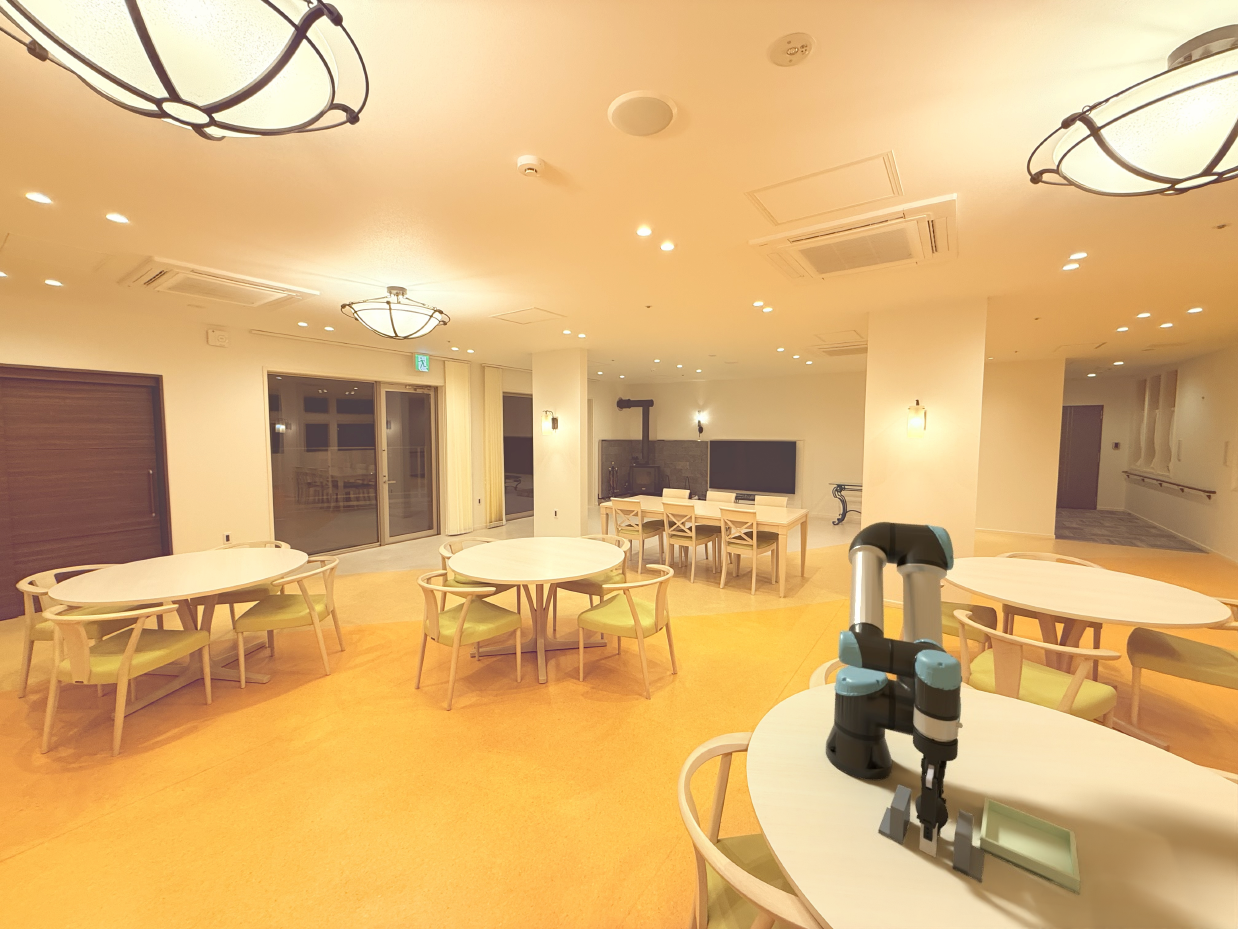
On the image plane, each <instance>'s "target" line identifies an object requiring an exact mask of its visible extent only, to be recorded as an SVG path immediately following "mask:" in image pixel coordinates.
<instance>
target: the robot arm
mask: <svg viewBox="0 0 1238 929" xmlns="http://www.w3.org/2000/svg"><path fill="white" fill-rule="evenodd" d="M953 547H954V546H953V542H952V539H951V535H950V534H949V531H947V530H946V528H944V527H942V526H935V525H930V524H918V523H917V524H914V523H901V522H900V523H899V522H890V521H880V522H875V523H872V524H870V525H868V526H866V527H864V528H862V530H860V531H859V532H858V533H857V534H856V535H855V536H854V538H853V539H852V541H851V543H850V545H849V548H848V556H847V557H848V561H849V563H850V565H851V577H850V595H849V596H850V599H849V602H850V603H849V618H848V619H849V620H848V630H841V631H839V638H838V659H839V661H840V663H842V664H844V665H847V666H844V667H841V669H839V670H838V671H837V672H836V676H835V684H834V691H835V694H834V716H833V720H834V721H833V725H832V727H831V729H830V732H829V734H828V736H827V739H826V743H825V755H826V758H827V759H828V760H829V762H830V763H831V764H832V765H833V766H834V767H836V768H837V769H839V771H842V772H844V773H845V774H847V775H849V776H852V777H855V778H858V779H861V780H867V781H880V780H884V779H886V778H888V777H889V776H890V775H891V774H892V770H893V769H892V768H893V759H892V756H891V752H890V750H889V749H890V748H889V746H888V743H887V739H886V730H888V731H893V732H896V733H899V734H903V735H907V736H912V744H913V746H914V748H915V749H916V750H917V751H918V752H919V753H921V754H922V758H921V760H920V768H921V775H920V781H921V786H920V787H921V790H920V795H921V805H920V815H918V814H917V813H916V819H917V820H918V821H919V823H920V828H919V831H920V832H919V850H920V851H922V852H924V853H926V854H928V855H930V856H932V857H934V858H936V857H937V848H938V847H937V845H938V842H937V826H938V823H937V822H936V820H937V807H938V797H939V798H940V799H941V800H942V801H943V802H944V804H945V805H946V806H947V798H944V797H943V795H944V781H945V780H944V779H945V775H946V769H947V765H948V764H947V762H953V761H954V760H956V759H957V757H958V754H959V753H958V752H959V751H958V750H959V738H958V737H959V729H962V728H963V723H962V722H961V714H962V702H961V701H962V700H961V689H962V688H961V686H962V682H963V676H962V664H961V662H960V660H959V659H958V658H956V657H954V656H953V655H952V654H949V653H948V652H947V651H946V649H945V648H944V643H943V642H944V641H943V619H942V616H943V615H942V614H943V613H942V611H943V610H942V590H941V589H942V588H941V587H942V586H941V581H942V580H943V579H944V578H946V577H947V575H948V571H951V570H953V568H954V565H955V564H954V561H955V560H954V548H953ZM887 564H890V565H891V564H892V565H896V572H897V573H898V574H899V575H900V576H902V615H903V617H902V618H903V619H902V621H903V622H902V623H903V624H902V625H903V626H902V628H903V630H902V631H903V632H902V635H903V637H902V638H903V639H902V640H900V639H894V638H891V637H890V638H889V637H885V625H884V624H885V623H884V622H885V619H884V618H885V615H884V613H885V612H884V611H885V610H884V609H885V608H884V568H885V567H886V565H887ZM887 674H891V675H895V676H896V679H890V678H889V677H888V675H887ZM941 832H942V829H941V830H940V832H939V835H938V838H941V834H942V833H941Z"/></svg>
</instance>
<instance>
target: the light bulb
mask: <svg viewBox="0 0 1238 929" xmlns="http://www.w3.org/2000/svg"><path fill="white" fill-rule="evenodd" d="M914 805H915V806H914V807H915V811H916V815H917V814H918V815H920V805H921V794H919V795H918V796H917V798H916V799H915V804H914ZM948 821H949V811H948V807H947V804H946V805H945V804H944V802H943V801H942V800H941V799H940V798H939V797H938V807H937V820H936V822H937V823H938V826H937V843H938V841H939V836H938V835H939V832H940V830H941V831H942V828H944V827H945V826H946V824H947V823H948Z"/></svg>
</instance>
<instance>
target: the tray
mask: <svg viewBox="0 0 1238 929" xmlns="http://www.w3.org/2000/svg"><path fill="white" fill-rule="evenodd" d="M981 822H982V823H981V829H980V839H979V840H980V841H979V842H980V843H979V848H980V849H982V850H984V851H985V853H986V854H988V855H991V856H992V857H995V858H997V859H999V860H1001V861H1003V862H1006V863H1008V864H1010V865H1013V866H1015V867H1017V868H1020V869H1021V870H1024V871H1026V872H1028V873H1031V874H1033V875H1035V876H1037V877H1039V878H1042V879H1044V880H1046V881H1048V882H1050V883H1052V884H1054V885H1057V886H1059V887H1062V888H1064V889H1066V890H1068V891H1070V892H1072V893H1075V894H1077V895H1080V888H1081V877H1080V869H1079V861H1078V853H1077V851H1078V850H1077V845H1076V844H1077V843H1076V836H1075V831H1073V830H1071V829H1068V828H1066V827H1063V826H1060V825H1059V824H1055V823H1053V822H1051V821H1048V820H1045V819H1042V818H1040V817H1038V816H1035V815H1032V814H1030V813H1027V812H1024V811H1022V810H1020V809H1017V808H1015V807H1013V806H1010V805H1006V804H1005V803H1002V802H999V801H996V800H995V799H992V798H988V797H986V796H985V797H984V804H983V812H982V820H981Z"/></svg>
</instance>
